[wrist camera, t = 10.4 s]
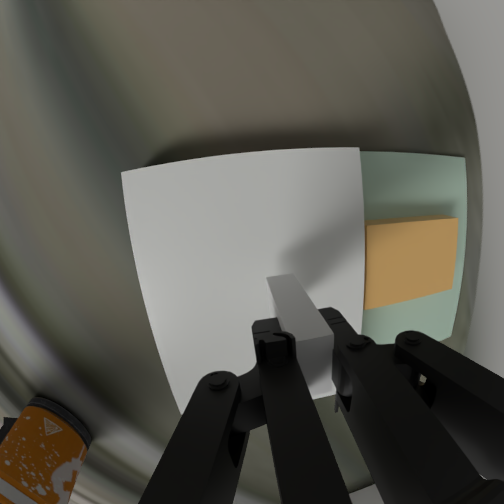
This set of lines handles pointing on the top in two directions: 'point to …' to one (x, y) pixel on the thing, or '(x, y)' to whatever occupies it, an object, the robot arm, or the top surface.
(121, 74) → the top surface
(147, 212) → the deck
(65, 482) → the canister
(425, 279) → the light orange flat block
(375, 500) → the gable box
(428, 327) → the mat
